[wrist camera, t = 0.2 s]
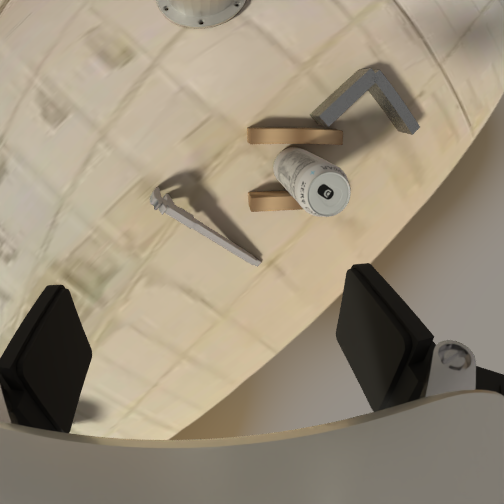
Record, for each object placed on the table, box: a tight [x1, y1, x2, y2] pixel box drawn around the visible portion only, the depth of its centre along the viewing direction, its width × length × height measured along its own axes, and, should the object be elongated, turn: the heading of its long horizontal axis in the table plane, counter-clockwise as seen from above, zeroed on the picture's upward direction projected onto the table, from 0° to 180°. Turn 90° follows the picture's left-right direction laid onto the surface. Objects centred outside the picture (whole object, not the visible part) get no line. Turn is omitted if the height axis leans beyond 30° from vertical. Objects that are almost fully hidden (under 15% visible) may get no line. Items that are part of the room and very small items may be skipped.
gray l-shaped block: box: [310, 68, 420, 135], centre depth 39 cm, size 9×17×4 cm, turn 91°
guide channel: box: [247, 127, 343, 212], centre depth 43 cm, size 13×12×3 cm
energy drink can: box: [273, 147, 350, 217], centre depth 37 cm, size 6×6×15 cm
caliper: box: [150, 187, 261, 267], centre depth 44 cm, size 20×1×6 cm, turn 49°
